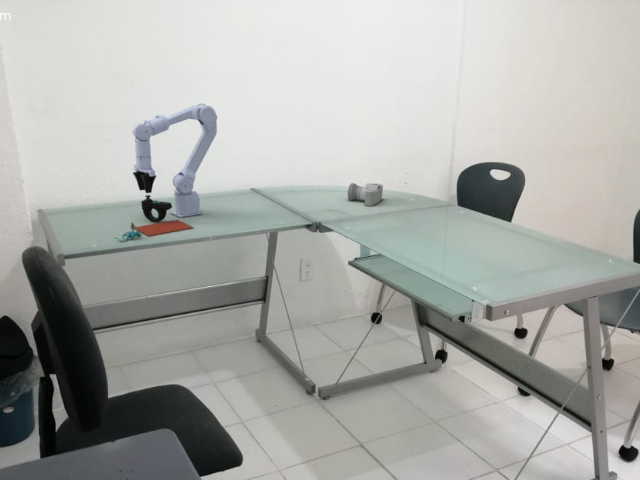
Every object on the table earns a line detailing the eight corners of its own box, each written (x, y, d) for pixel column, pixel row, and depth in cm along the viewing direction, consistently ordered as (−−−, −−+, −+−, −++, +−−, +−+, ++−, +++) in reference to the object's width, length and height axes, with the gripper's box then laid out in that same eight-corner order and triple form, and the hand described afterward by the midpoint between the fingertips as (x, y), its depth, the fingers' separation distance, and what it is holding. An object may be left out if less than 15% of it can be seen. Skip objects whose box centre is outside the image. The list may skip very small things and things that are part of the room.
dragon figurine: (132, 241, 207) (144, 227, 212) (113, 232, 207) (125, 218, 212) (131, 253, 212) (142, 239, 217) (112, 244, 212) (124, 230, 217)
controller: (146, 218, 237) (144, 193, 233) (174, 222, 234) (173, 196, 230) (140, 221, 233) (138, 196, 230) (169, 225, 230) (167, 199, 226)
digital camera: (359, 203, 281) (362, 181, 279) (386, 207, 273) (389, 185, 271) (341, 202, 268) (344, 179, 266) (369, 206, 260) (373, 182, 258)
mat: (177, 220, 236) (177, 219, 235) (192, 228, 227) (192, 227, 227) (134, 228, 225) (134, 227, 225) (148, 236, 217) (148, 235, 216)
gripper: (125, 154, 233) (127, 188, 238) (141, 160, 222) (144, 196, 228) (142, 152, 237) (144, 186, 242) (159, 158, 226) (161, 194, 232)
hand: (145, 191), depth 235 cm, fingers open, 5 cm apart
